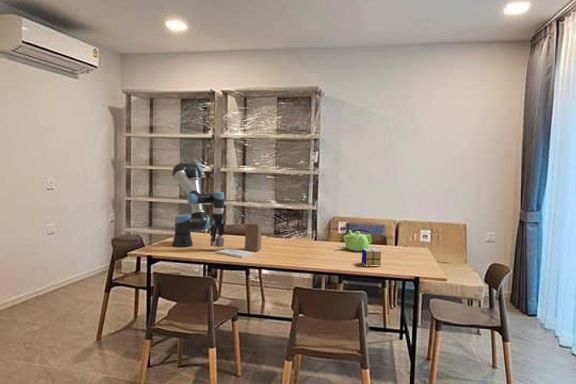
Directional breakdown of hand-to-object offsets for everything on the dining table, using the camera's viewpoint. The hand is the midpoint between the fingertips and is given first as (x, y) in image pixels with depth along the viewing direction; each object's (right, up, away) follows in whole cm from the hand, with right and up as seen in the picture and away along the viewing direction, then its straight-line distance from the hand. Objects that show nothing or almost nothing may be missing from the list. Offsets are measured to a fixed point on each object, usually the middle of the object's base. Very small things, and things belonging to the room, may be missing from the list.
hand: (216, 244), depth 314 cm
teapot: (+105, -7, +23) cm, 107 cm away
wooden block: (+26, -5, +6) cm, 27 cm away
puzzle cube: (+107, -10, -28) cm, 111 cm away
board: (+15, -5, -10) cm, 18 cm away
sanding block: (0, -1, 0) cm, 1 cm away
